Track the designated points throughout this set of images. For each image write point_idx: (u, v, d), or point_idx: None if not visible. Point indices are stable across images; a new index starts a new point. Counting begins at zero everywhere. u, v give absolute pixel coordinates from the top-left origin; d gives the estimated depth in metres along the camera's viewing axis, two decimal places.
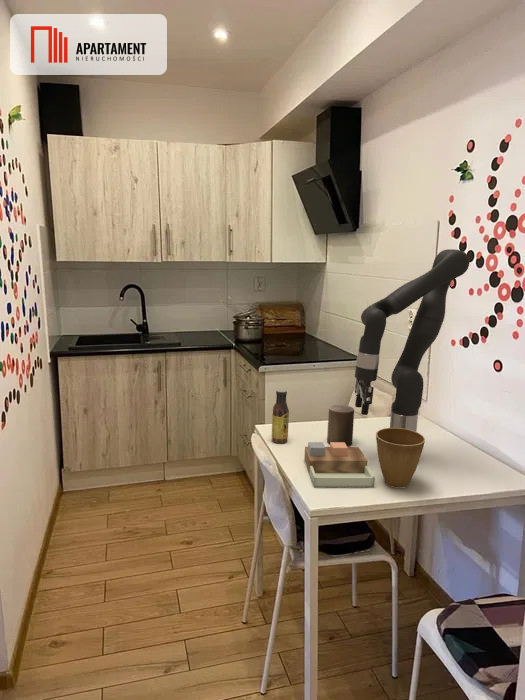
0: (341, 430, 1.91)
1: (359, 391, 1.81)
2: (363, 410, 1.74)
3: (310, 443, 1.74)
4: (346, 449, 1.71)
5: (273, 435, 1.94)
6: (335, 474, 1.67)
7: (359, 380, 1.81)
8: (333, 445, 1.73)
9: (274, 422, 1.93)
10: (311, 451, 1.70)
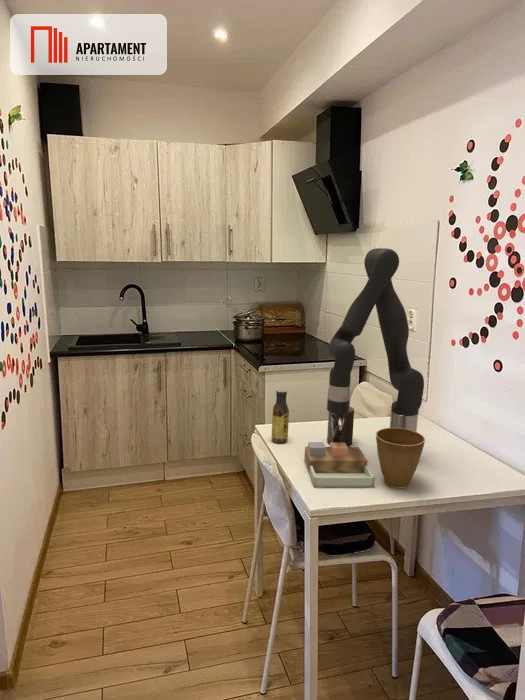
0: None
1: None
2: None
3: (310, 443, 1.74)
4: (346, 449, 1.71)
5: (273, 435, 1.94)
6: (335, 474, 1.67)
7: None
8: (333, 445, 1.72)
9: (274, 422, 1.93)
10: (311, 451, 1.70)
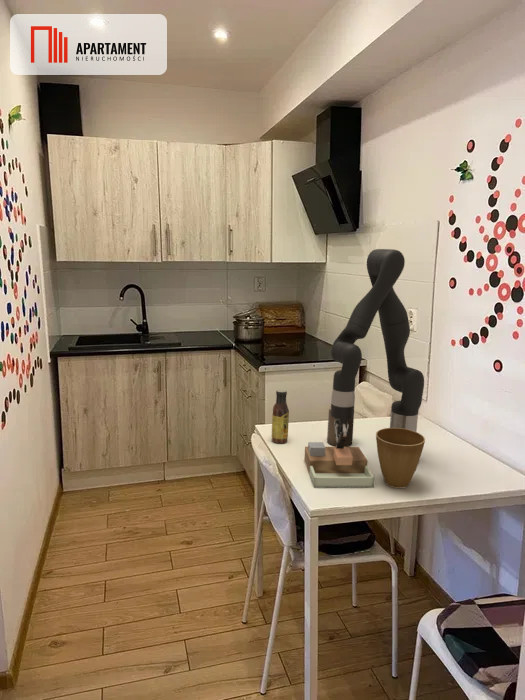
0: None
1: None
2: None
3: (310, 443, 1.74)
4: (351, 458, 1.65)
5: (273, 435, 1.94)
6: (335, 474, 1.67)
7: None
8: (337, 453, 1.66)
9: (274, 422, 1.93)
10: (311, 451, 1.70)
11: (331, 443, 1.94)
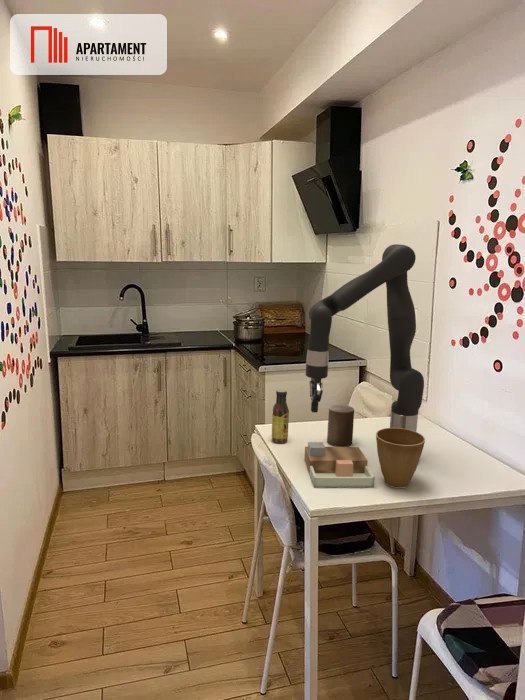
0: (341, 430, 1.91)
1: None
2: (313, 408, 1.77)
3: (310, 443, 1.74)
4: None
5: (273, 435, 1.94)
6: None
7: (311, 378, 1.79)
8: (339, 472, 1.64)
9: (274, 422, 1.93)
10: (311, 451, 1.70)
11: (331, 443, 1.94)
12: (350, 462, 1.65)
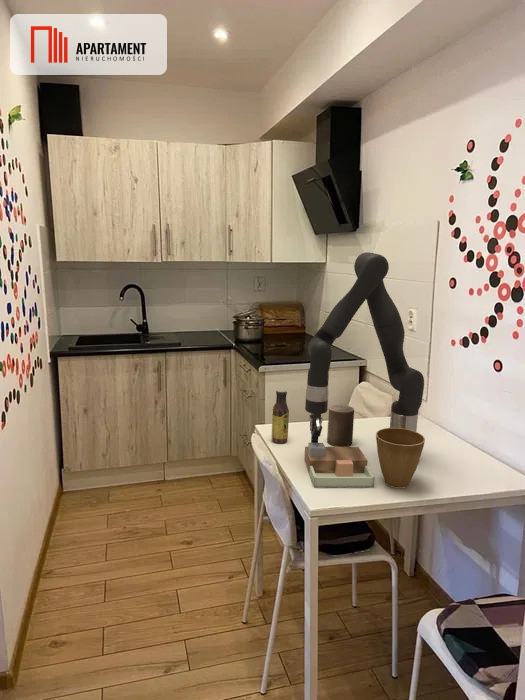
0: (341, 430, 1.91)
1: None
2: (313, 442, 1.75)
3: (310, 443, 1.73)
4: None
5: (273, 435, 1.94)
6: None
7: None
8: (339, 472, 1.64)
9: (274, 422, 1.93)
10: (311, 452, 1.70)
11: (331, 443, 1.94)
12: (350, 462, 1.65)
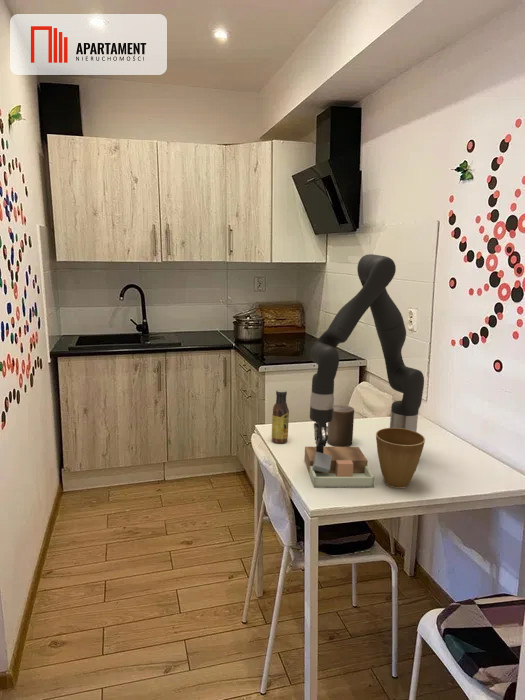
0: (341, 430, 1.91)
1: None
2: None
3: (318, 455, 1.64)
4: None
5: (273, 435, 1.94)
6: None
7: None
8: (339, 472, 1.64)
9: (274, 422, 1.93)
10: (314, 467, 1.63)
11: (331, 443, 1.94)
12: (350, 462, 1.65)
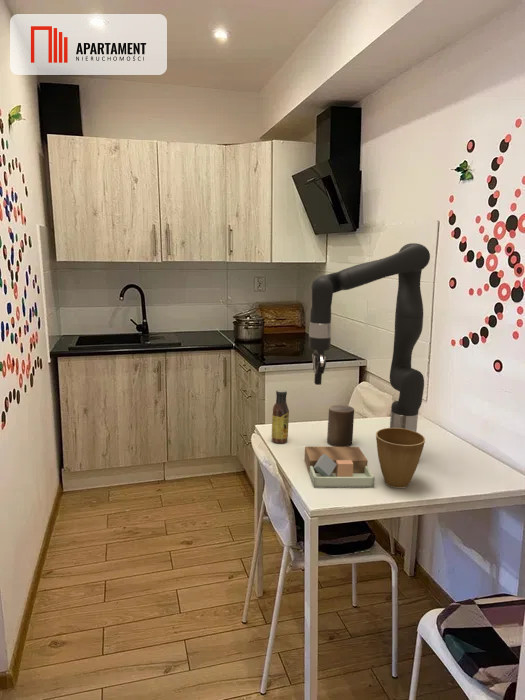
0: (341, 430, 1.91)
1: None
2: (316, 380, 1.79)
3: (324, 458, 1.64)
4: None
5: (273, 435, 1.94)
6: None
7: (314, 351, 1.81)
8: (339, 472, 1.64)
9: (274, 422, 1.93)
10: (316, 467, 1.63)
11: (331, 443, 1.94)
12: (350, 462, 1.65)
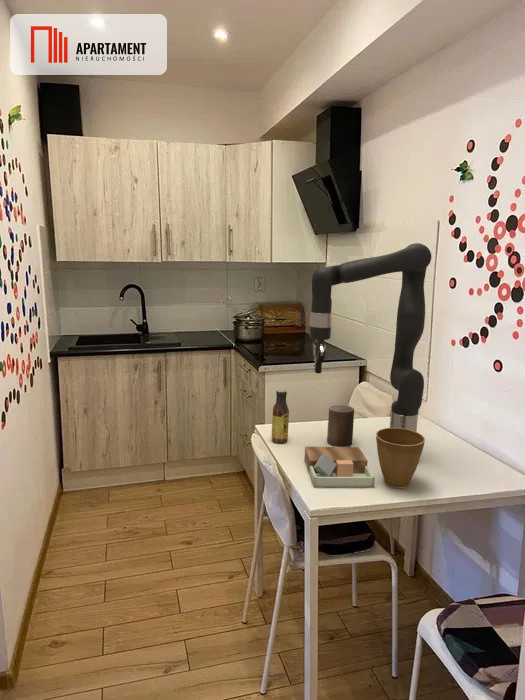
0: (341, 430, 1.91)
1: (316, 353, 1.83)
2: (316, 369, 1.83)
3: (324, 458, 1.64)
4: None
5: (273, 435, 1.94)
6: None
7: None
8: (339, 472, 1.64)
9: (274, 422, 1.93)
10: (316, 467, 1.63)
11: (331, 443, 1.94)
12: (350, 462, 1.65)
